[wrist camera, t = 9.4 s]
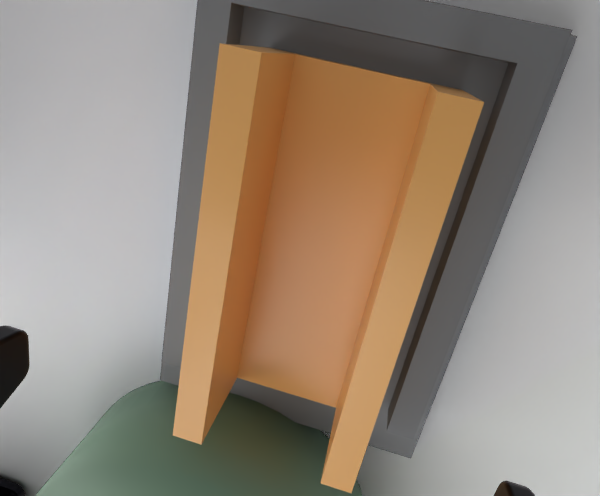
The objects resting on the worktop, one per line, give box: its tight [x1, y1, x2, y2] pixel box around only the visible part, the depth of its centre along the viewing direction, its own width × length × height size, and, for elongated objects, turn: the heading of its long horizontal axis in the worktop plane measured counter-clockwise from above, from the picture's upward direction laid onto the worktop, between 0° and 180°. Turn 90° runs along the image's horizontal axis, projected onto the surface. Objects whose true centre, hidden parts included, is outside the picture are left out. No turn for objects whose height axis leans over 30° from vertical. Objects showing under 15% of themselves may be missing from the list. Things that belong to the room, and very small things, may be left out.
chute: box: [173, 43, 484, 493], centre depth 15 cm, size 12×6×4 cm, turn 169°
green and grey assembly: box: [35, 0, 577, 496], centre depth 16 cm, size 14×30×9 cm, turn 169°
